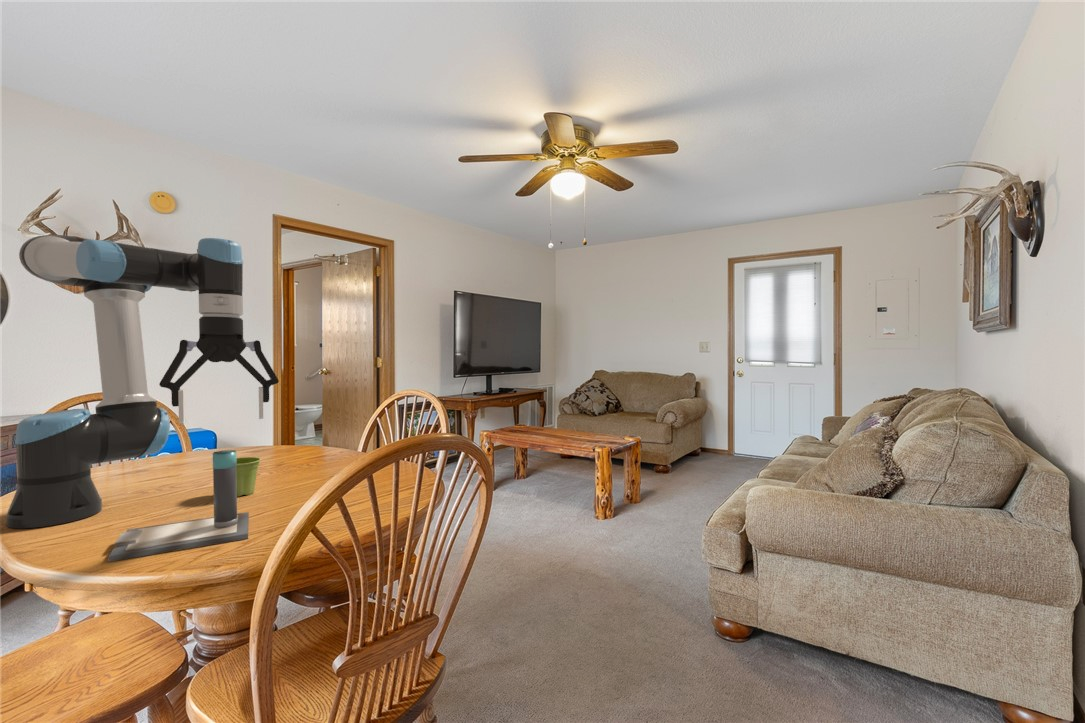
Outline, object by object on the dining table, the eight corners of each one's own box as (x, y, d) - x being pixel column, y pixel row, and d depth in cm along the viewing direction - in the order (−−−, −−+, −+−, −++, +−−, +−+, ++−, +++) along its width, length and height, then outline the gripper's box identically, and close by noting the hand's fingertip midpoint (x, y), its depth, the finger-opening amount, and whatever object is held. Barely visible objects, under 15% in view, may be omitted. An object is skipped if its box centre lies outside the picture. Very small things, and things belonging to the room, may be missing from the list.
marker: (212, 529, 99) (211, 455, 99) (214, 523, 102) (213, 451, 102) (236, 526, 101) (235, 452, 101) (238, 520, 104) (236, 449, 104)
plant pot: (231, 489, 132) (231, 456, 132) (268, 488, 133) (267, 456, 133) (210, 499, 123) (210, 465, 123) (250, 498, 123) (249, 464, 123)
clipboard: (108, 561, 87) (108, 551, 87) (127, 534, 100) (127, 525, 100) (248, 538, 97) (247, 529, 97) (248, 516, 110) (248, 508, 110)
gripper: (139, 313, 91) (142, 427, 92) (291, 317, 104) (292, 418, 104) (147, 315, 98) (149, 422, 98) (288, 319, 110) (290, 414, 111)
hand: (223, 420), depth 101 cm, fingers open, 13 cm apart
